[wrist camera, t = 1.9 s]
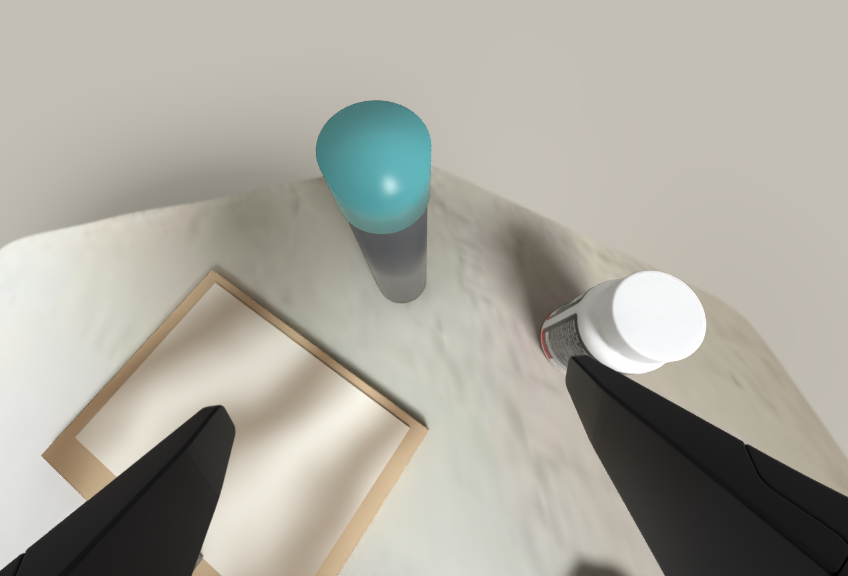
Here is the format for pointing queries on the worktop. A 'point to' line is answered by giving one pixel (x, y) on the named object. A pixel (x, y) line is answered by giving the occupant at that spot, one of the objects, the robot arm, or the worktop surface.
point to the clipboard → (251, 434)
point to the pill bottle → (627, 324)
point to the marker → (382, 189)
